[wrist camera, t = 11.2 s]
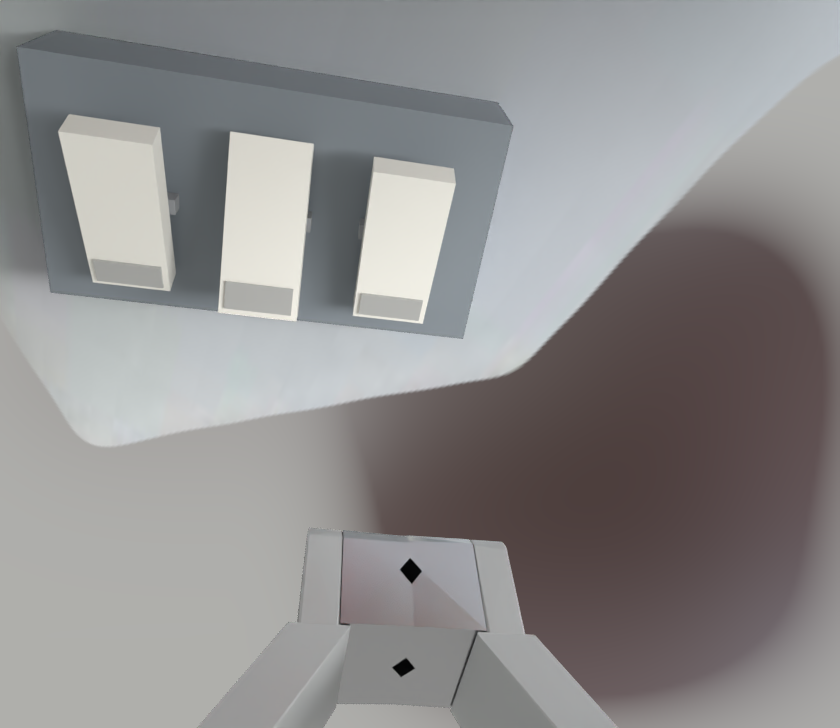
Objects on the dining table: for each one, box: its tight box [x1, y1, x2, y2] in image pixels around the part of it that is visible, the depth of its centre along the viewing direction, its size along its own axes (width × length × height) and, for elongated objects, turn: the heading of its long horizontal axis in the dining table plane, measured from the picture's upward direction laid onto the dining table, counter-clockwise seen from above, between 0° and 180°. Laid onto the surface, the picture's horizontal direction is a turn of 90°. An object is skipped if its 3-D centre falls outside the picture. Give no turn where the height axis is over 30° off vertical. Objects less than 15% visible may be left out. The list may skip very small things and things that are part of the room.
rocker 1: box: [58, 114, 176, 291], centre depth 35 cm, size 4×9×2 cm, turn 170°
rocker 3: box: [353, 157, 456, 324], centre depth 37 cm, size 4×9×2 cm, turn 170°
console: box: [17, 30, 513, 339], centre depth 39 cm, size 24×13×6 cm, turn 80°
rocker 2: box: [218, 131, 314, 321], centre depth 36 cm, size 4×9×2 cm, turn 170°
